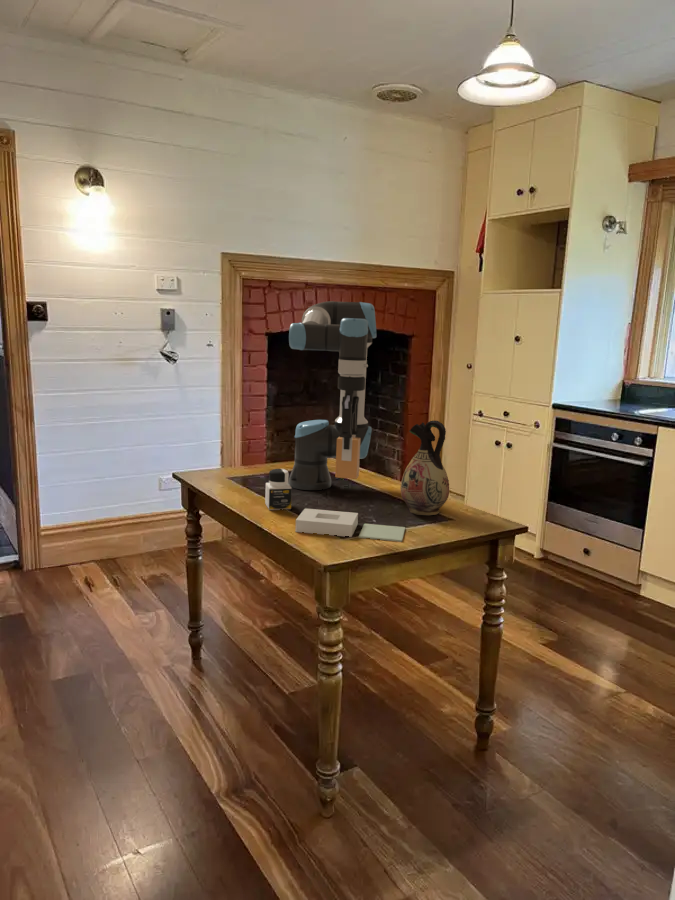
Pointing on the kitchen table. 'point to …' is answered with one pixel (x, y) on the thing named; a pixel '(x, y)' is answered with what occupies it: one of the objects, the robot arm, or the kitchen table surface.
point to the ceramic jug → (426, 473)
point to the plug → (348, 467)
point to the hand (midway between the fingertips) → (348, 458)
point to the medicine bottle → (278, 490)
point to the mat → (382, 532)
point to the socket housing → (327, 522)
